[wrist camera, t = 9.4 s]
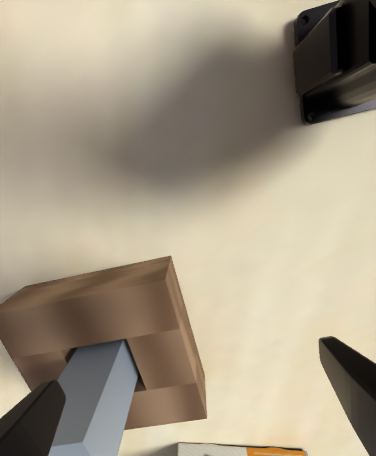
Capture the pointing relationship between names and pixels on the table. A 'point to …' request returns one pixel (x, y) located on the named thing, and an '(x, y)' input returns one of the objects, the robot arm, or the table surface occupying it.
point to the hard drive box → (233, 450)
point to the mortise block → (113, 335)
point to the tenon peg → (95, 400)
